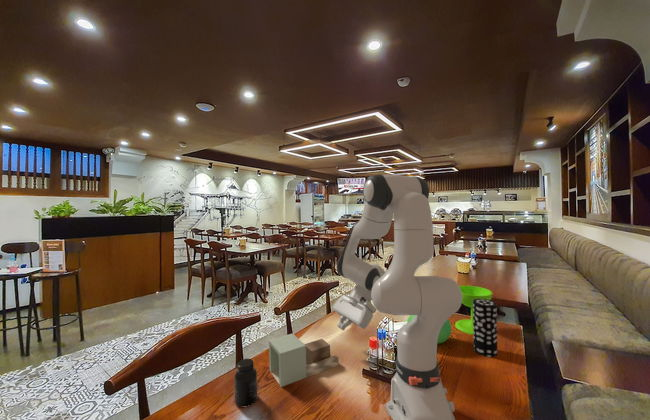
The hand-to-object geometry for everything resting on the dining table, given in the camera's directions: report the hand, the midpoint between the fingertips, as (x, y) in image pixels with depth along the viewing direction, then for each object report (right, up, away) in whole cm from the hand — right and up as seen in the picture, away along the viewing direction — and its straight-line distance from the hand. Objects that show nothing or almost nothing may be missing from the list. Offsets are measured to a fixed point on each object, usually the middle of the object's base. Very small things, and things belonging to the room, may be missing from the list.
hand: (340, 328), depth 111 cm
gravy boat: (+39, -10, +10) cm, 42 cm away
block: (-9, -11, -6) cm, 15 cm away
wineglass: (+65, -9, +22) cm, 69 cm away
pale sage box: (-19, -12, -12) cm, 26 cm away
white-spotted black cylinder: (+59, -10, +1) cm, 59 cm away
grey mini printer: (-14, -11, -9) cm, 20 cm away
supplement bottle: (-31, -12, -24) cm, 41 cm away
